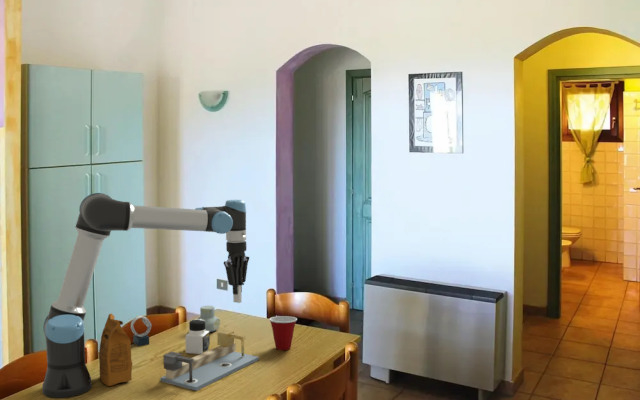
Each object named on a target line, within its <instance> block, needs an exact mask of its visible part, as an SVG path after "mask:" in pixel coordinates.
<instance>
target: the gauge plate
mask: <svg viewBox="0 0 640 400" xmlns="http://www.w3.org/2000/svg"><path fill="white" fill-rule="evenodd" d="M259 357H260V356H256V355H251V354H248V353H244V356H242V354H241V352H238V351H234V352H232V353H229V354H227V355H225V356H223V357H220V358H218V359H216V360H214V361H212V362H209V363H207V364H205V365H203V366H201V367H198V368H196V369H194V370H192V380H193V381H192V382H190V381H189V372H187V373H185V374H183V375H181V376H178V377H176V378H174V379H169V378H166V374H165V375H163V376H162V377H161V376H160V382H163V383H166V384H170V385H174V386H177V387H181V388H184V389H188V390H192V391H194V392H196V391H199V390H201V389H202V388H205V387H207V386H209V385H211V384H213V383H215V382H217V381H219V380H221V379H223V378H226V377H227V376H230V375H231V374H233V373H235V372H238V371H240V370H241V369H243V368H245V367H247V366H250V365H251V364H254V363H255V362H257V361H259V359H260V358H259Z"/></svg>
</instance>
